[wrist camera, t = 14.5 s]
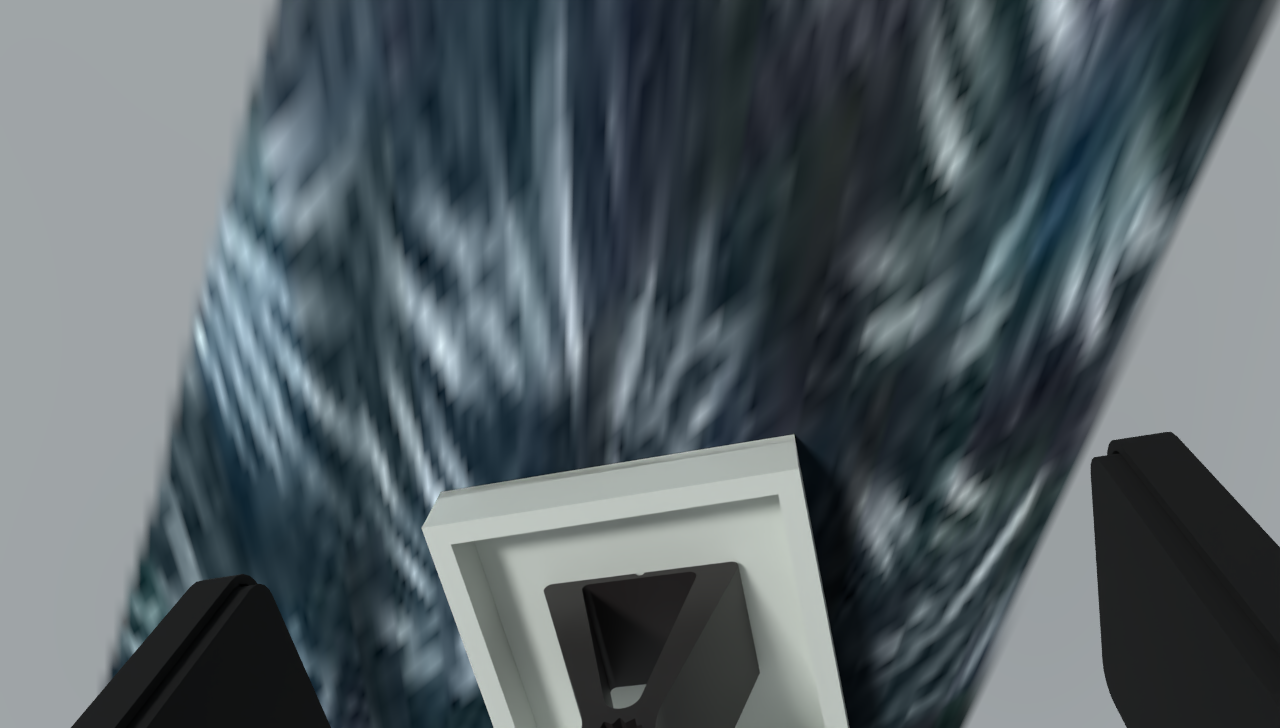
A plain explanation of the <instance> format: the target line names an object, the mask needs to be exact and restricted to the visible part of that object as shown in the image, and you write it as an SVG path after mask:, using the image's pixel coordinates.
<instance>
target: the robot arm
mask: <svg viewBox="0 0 1280 728" xmlns="http://www.w3.org/2000/svg"><path fill="white" fill-rule="evenodd" d="M1091 483H1092V499H1093V516H1094V531H1095V546H1096V563H1097V578H1098V595H1099V610H1100V626H1101V642H1102V658H1103V666H1104V667H1103V668H1104V673H1105V678H1106V682H1107V686H1108V688H1109V691H1110V694H1111V697H1112V699H1113V701H1114V703H1115V706H1116V708H1117V709H1118V711H1119V713H1120V715H1121V717H1122V719H1123V721H1124V723H1125V725H1126V727H1127V728H1280V547H1279V546H1278V545H1277V544H1276V543H1275V542H1274V541H1273V540H1272V538H1270V536H1269V535H1268V534H1267V533H1266V532H1265V531H1264V530H1263V529H1262V528H1261V527H1260V525H1259V524H1258V523H1257V522H1256V521H1255V520H1254V519H1253V518H1252V517H1251V516H1250V515H1249V514H1248V513H1247V511H1246V510H1245V509H1244V508H1243V507H1242V506H1241V505H1240V504H1239V503H1238V502H1237V501H1236V500H1235V499H1234V497H1233V496H1232V495H1231V494H1230V493H1229V492H1228V491H1227V490H1226V489H1225V488H1224V487H1223V486H1222V485H1221V484H1220V483H1219V481H1218V480H1217V479H1216V478H1215V477H1214V476H1213V475H1212V474H1211V473H1210V472H1209V470H1208V469H1207V468H1206V467H1205V466H1204V465H1203V464H1202V463H1201V462H1200V461H1199V460H1198V459H1197V458H1196V456H1194V454H1193V453H1192V452H1191V451H1190V450H1189V449H1188V448H1187V447H1186V446H1185V445H1184V444H1183V443H1182V441H1181V440H1180V439H1179V438H1178V437H1177V436H1175V435H1174V434H1173V433H1172V432H1164V433H1158V434H1151V435H1144V436H1138V437H1131V438H1125V439H1118V440H1112V441H1111V442H1110V444H1109V447H1108V452H1107V456H1101V457H1094V458H1093V459H1092V462H1091ZM71 728H331V727H330V725H329V722H328V720H327V718H326V716H325V713H324V711H323V709H322V707H321V704H320V702H319V700H318V697H317V695H316V693H315V691H314V688H313V686H312V684H311V682H310V679H309V677H308V675H307V673H306V670H305V668H304V666H303V663H302V661H301V659H300V657H299V654H298V652H297V650H296V648H295V645H294V643H293V641H292V639H291V636H290V634H289V632H288V630H287V627H286V625H285V623H284V620H283V618H282V616H281V614H280V611H279V609H278V607H277V605H276V602H275V600H274V598H273V596H272V594H271V592H270V590H269V589H268V588H267V587H266V586H265V585H262V584H257V583H256V581H255V580H254V579H253V578H251V577H250V576H248V575H244V574H241V575H235V576H228V577H222V578H215V579H209V580H203V581H199V582H196V583H195V584H193V585H192V586H191V587H190V588H189V589H188V590H187V592H186V593H185V594H184V595H183V596H182V597H181V599H180V600H179V601H178V602H177V603H176V604H175V606H174V607H173V608H172V609H171V610H170V612H169V613H168V614H167V615H166V616H165V617H164V619H163V620H162V621H161V622H160V623H159V625H158V626H157V627H156V628H155V629H154V630H153V632H152V633H151V634H150V635H149V636H148V637H147V639H146V640H145V641H144V642H143V643H142V645H141V646H140V647H139V648H138V649H137V650H136V652H135V653H134V654H133V655H132V656H131V657H130V659H129V660H128V661H127V662H126V663H125V665H124V666H123V667H122V668H121V669H120V670H119V672H118V673H117V674H116V675H115V676H114V678H113V679H112V680H111V681H110V682H109V683H108V685H107V686H106V687H105V688H104V689H103V690H102V692H101V693H100V694H99V695H98V696H97V698H96V699H95V700H94V701H93V702H92V703H91V705H90V706H89V707H88V708H87V709H86V711H85V712H84V713H83V714H82V715H81V716H80V718H79V719H78V720H77V721H76V722H75V724H74V725H73V726H72V727H71Z"/></svg>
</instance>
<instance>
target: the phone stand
mask: <svg viewBox="0 0 1280 728" xmlns="http://www.w3.org/2000/svg"><path fill="white" fill-rule="evenodd" d="M544 594H545V598H546V601H547V604H548V608H549V611H550V615H551V618H552V621H553V625H554V628H555V632H556V635H557V639H558V642H559V645H560V649H561V652H562V656H563V659H564V662H565V666H566V669H567V673H568V676H569V680H570V683H571V686H572V690H573V693H574V696H575V700H576V703H577V706H578V710H579V713H580V716H581V720H582V728H735V726H736V724H737V722H738V720H739V718H740V716H741V713H742V711H743V709H744V707H745V705H746V702H747V700H748V698H749V696H750V694H751V691H752V689H753V687H754V685H755V683H756V680H757V678H758V676H759V674H760V670H759V665H758V660H757V655H756V650H755V645H754V640H753V635H752V630H751V625H750V620H749V615H748V610H747V605H746V600H745V595H744V590H743V585H742V580H741V575H740V570H739V565H738V563H736V562H724V563H716V564H708V565H700V566H692V567H684V568H676V569H668V570H660V571H652V572H644V574H643V575H637V574H629V575H621V576H613V577H605V578H597V579H589V580H581V581H573V582H565V583H557V584H551V585H548V586H547V587H545V589H544ZM644 684H646V686H645V689H644V691H643V693H642V695H641V697H640V699H639V700H638V701H637V702H636V703H634V704H633V705H631V706H629V707H626V708H621V709H616V708H613V703H612V698H611V690H612V689H614V688H616V687H625V686H634V685H644Z"/></svg>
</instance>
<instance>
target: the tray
mask: <svg viewBox="0 0 1280 728" xmlns="http://www.w3.org/2000/svg"><path fill="white" fill-rule="evenodd" d="M422 531H423V533H424V536H425V539H426V542H427V544H428V547H429V550H430V553H431V555H432V558H433V561H434V564H435V566H436V569H437V572H438V575H439V577H440V580H441V583H442V586H443V589H444V591H445V594H446V597H447V600H448V602H449V605H450V608H451V611H452V613H453V616H454V619H455V622H456V624H457V627H458V630H459V633H460V635H461V638H462V641H463V644H464V647H465V649H466V652H467V655H468V658H469V660H470V663H471V666H472V669H473V671H474V674H475V677H476V680H477V682H478V685H479V688H480V691H481V693H482V696H483V699H484V702H485V704H486V707H487V710H488V713H489V716H490V718H491V721H492V724H493V727H494V728H582V720H581V716H580V713H579V710H578V706H577V703H576V700H575V696H574V693H573V690H572V686H571V683H570V680H569V676H568V673H567V669H566V666H565V662H564V659H563V656H562V652H561V649H560V645H559V642H558V639H557V635H556V632H555V628H554V625H553V621H552V618H551V615H550V611H549V608H548V604H547V601H546V598H545V594H544V589H545V587H547V586H548V585H551V584H557V583H565V582H573V581H581V580H589V579H597V578H605V577H613V576H621V575H629V574H637V575H643V574H644V572H652V571H660V570H668V569H676V568H684V567H692V566H700V565H708V564H716V563H724V562H736V563H738V565H739V570H740V575H741V580H742V585H743V590H744V595H745V600H746V605H747V610H748V615H749V620H750V625H751V630H752V635H753V640H754V645H755V650H756V655H757V660H758V665H759V670H760V674H759V676H758V678H757V680H756V683H755V685H754V687H753V689H752V691H751V694H750V696H749V698H748V700H747V702H746V705H745V707H744V709H743V711H742V713H741V716H740V718H739V720H738V722H737V724H736V726H735V728H850V727H849V722H848V717H847V711H846V706H845V701H844V696H843V690H842V685H841V680H840V674H839V669H838V664H837V658H836V653H835V648H834V643H833V637H832V632H831V627H830V621H829V616H828V611H827V605H826V600H825V595H824V590H823V584H822V579H821V574H820V568H819V563H818V558H817V552H816V547H815V542H814V537H813V531H812V526H811V521H810V515H809V510H808V505H807V500H806V494H805V489H804V484H803V478H802V473H801V468H800V462H799V457H798V452H797V447H796V441H795V436H794V434H793V435H787V436H781V437H775V438H769V439H763V440H757V441H751V442H744V443H738V444H732V445H726V446H720V447H714V448H708V449H702V450H695V451H689V452H683V453H677V454H671V455H665V456H659V457H652V458H646V459H640V460H634V461H628V462H622V463H616V464H610V465H603V466H597V467H591V468H585V469H579V470H573V471H567V472H561V473H554V474H548V475H542V476H536V477H530V478H524V479H518V480H512V481H505V482H499V483H493V484H487V485H481V486H475V487H469V488H463V489H456V490H450V491H444V492H441V493H440V495H439V497H438V498H437V500H436V502H435V504H434V506H433V508H432V510H431V512H430V513H429V515H428V517H427V519H426V521H425V523H424V525H423V527H422ZM645 686H646V684H644V685H634V686H625V687H616V688H614V689H612V690H611V698H612V703H613V708H616V709H621V708H626V707H629V706H631V705H633V704H634V703H636V702H637V701H638V700H639V699H640V697H641V695H642V693H643V691H644V689H645Z"/></svg>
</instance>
